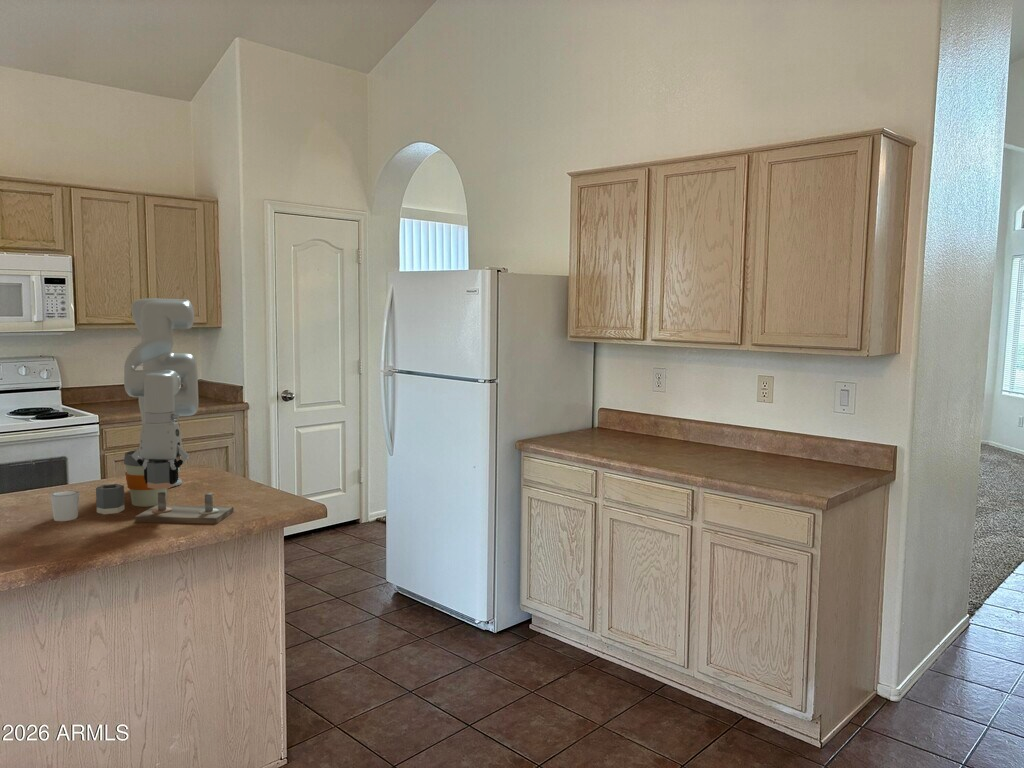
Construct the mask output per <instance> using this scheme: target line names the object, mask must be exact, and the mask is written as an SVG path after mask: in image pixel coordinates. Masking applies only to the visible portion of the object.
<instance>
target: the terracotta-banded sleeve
mask: <svg viewBox="0 0 1024 768" xmlns="http://www.w3.org/2000/svg"><path fill="white" fill-rule="evenodd" d="M170 470H171V467H170V462H168V460H151V461H149V462H147V487H148V488H152V489H164V488H167V489H170V488H173V487H172V486H174V485H175V483H174V484H170ZM174 487H175V486H174Z"/></svg>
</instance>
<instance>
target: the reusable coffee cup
mask: <svg viewBox="0 0 1024 768" xmlns="http://www.w3.org/2000/svg"><path fill="white" fill-rule="evenodd" d="M136 450H137V449H135V450H130V451H126V452H125V453H124V457H123V458H124V459H123V464H124V465H125V470H126V472H124V473H125V479H126V485H127V489H129V494H130V500H131V504H132V506H135V507H153V506H155V505H158V493H160V492H165V493H166V495H167V493H168V488H164V489H152V488H148V487H147V484H146V483H145V480H144V469H142V466H141V465H140V464H139V463H138V462H137V461H136V460H135V459H134V458H133V457H132V454H133V453H134V452H135V451H136Z"/></svg>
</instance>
